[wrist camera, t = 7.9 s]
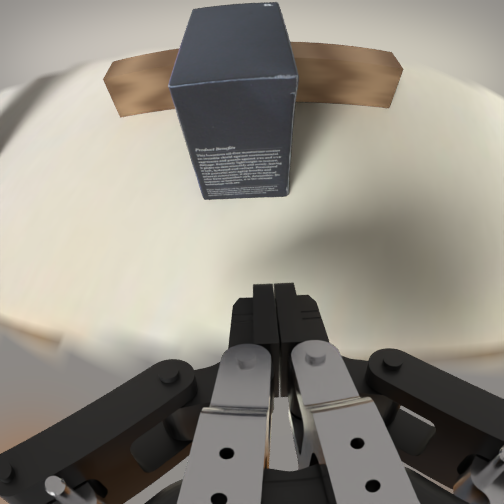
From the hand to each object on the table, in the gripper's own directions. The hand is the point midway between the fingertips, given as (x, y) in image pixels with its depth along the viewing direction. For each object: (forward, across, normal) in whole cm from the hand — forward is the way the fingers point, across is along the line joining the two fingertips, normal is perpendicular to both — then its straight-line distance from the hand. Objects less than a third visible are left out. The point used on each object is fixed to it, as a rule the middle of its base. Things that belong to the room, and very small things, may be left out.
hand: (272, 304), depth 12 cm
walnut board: (+20, 0, -10) cm, 22 cm away
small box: (+15, +1, -5) cm, 16 cm away
